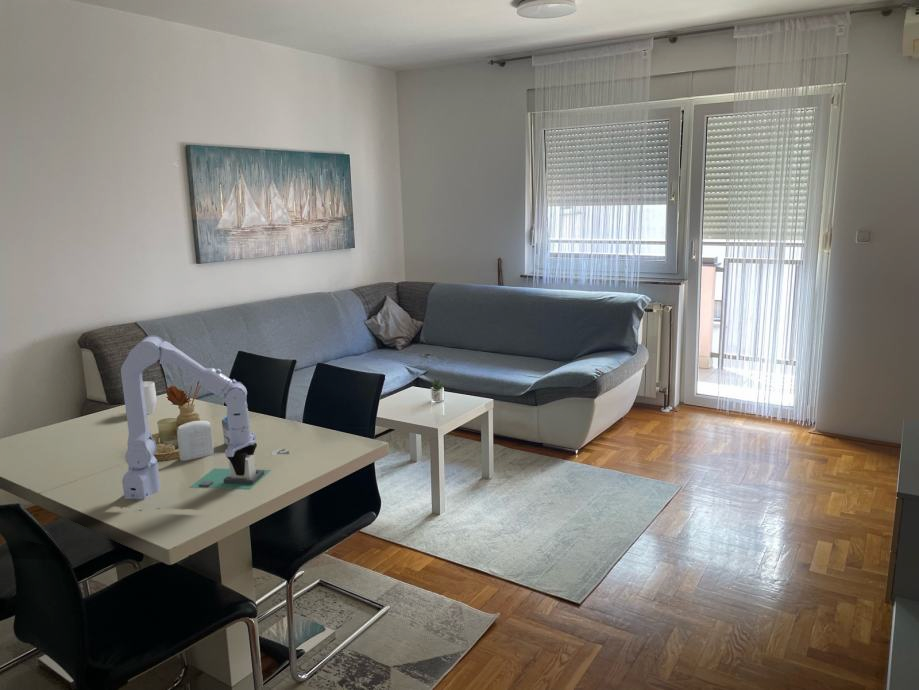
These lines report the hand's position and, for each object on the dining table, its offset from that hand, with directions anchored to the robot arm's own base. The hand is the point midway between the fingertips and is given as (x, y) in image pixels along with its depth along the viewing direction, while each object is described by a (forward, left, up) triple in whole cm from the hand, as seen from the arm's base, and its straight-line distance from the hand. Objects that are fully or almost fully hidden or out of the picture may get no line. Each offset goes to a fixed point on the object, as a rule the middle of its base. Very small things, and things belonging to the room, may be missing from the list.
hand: (243, 472), depth 197 cm
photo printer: (+17, +24, -3) cm, 30 cm away
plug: (0, 0, -2) cm, 2 cm away
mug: (+64, +73, -3) cm, 97 cm away
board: (0, +4, -3) cm, 5 cm away
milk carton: (+30, +18, -3) cm, 35 cm away
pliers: (+18, +2, -4) cm, 19 cm away
